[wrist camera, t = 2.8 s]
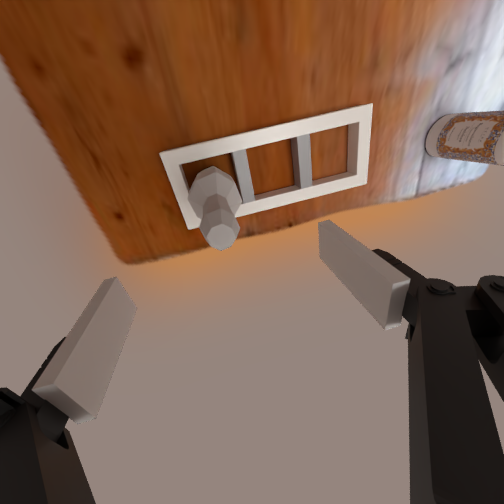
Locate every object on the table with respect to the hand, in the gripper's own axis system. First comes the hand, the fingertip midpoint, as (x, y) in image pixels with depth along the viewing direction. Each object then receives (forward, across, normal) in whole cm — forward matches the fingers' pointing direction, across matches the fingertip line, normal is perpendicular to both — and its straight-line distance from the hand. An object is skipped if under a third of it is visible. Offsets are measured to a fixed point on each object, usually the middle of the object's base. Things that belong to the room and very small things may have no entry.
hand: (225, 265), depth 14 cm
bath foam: (+26, +42, -2) cm, 50 cm away
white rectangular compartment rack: (+26, +10, 0) cm, 28 cm away
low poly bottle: (+26, 0, 0) cm, 26 cm away
